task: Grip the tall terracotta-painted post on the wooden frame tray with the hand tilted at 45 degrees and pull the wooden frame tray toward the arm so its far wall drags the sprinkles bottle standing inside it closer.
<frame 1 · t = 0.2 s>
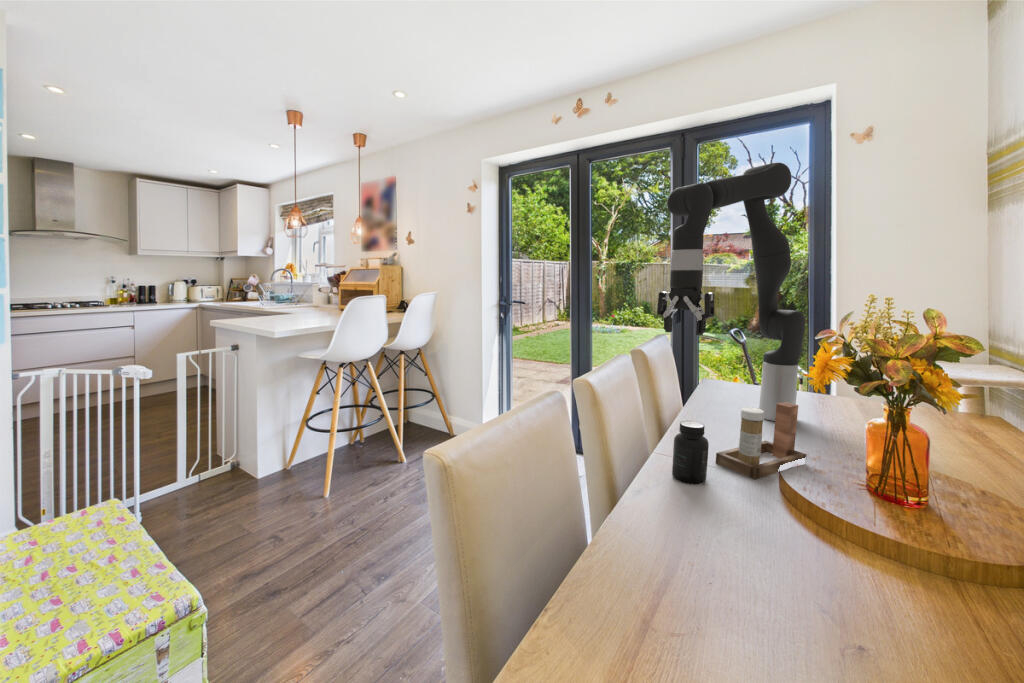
hand: (683, 333, 113), 29 cm above the table, tool pointing down, fingers open, 8 cm apart
sprinkles bottle: (748, 467, 101), resting in wooden frame tray
wooden frame tray: (763, 436, 103), point 6 cm above the table, slide at 0.0 cm
supplement bottle: (688, 479, 95), on the table
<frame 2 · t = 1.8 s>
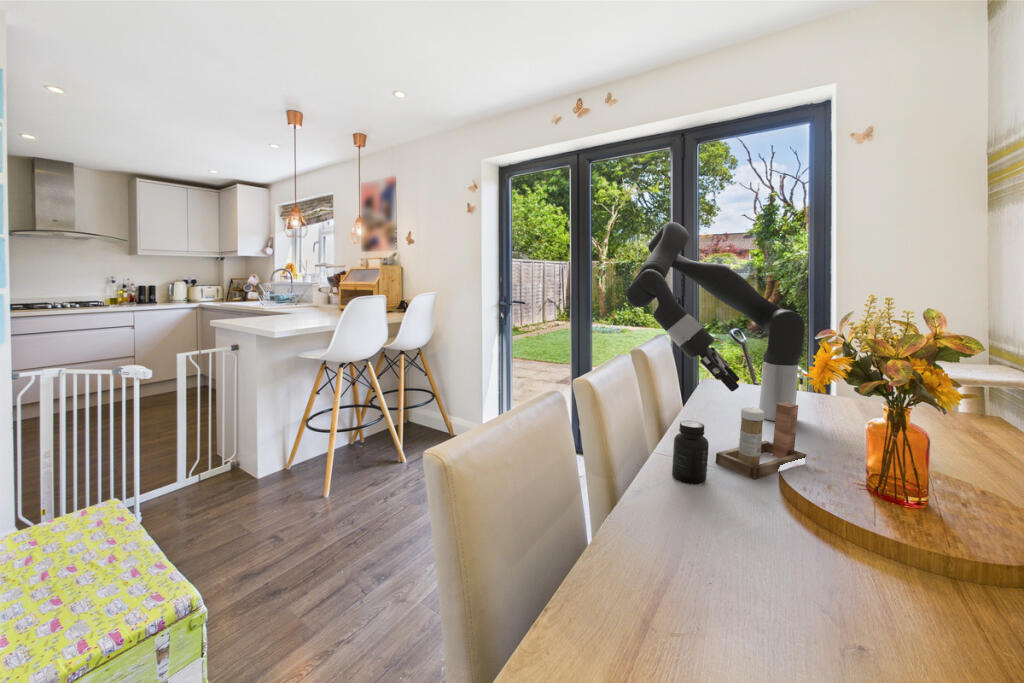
hand: (736, 385, 110), 16 cm above the table, tool tilted 45°, fingers open, 8 cm apart
nothing on the table moved.
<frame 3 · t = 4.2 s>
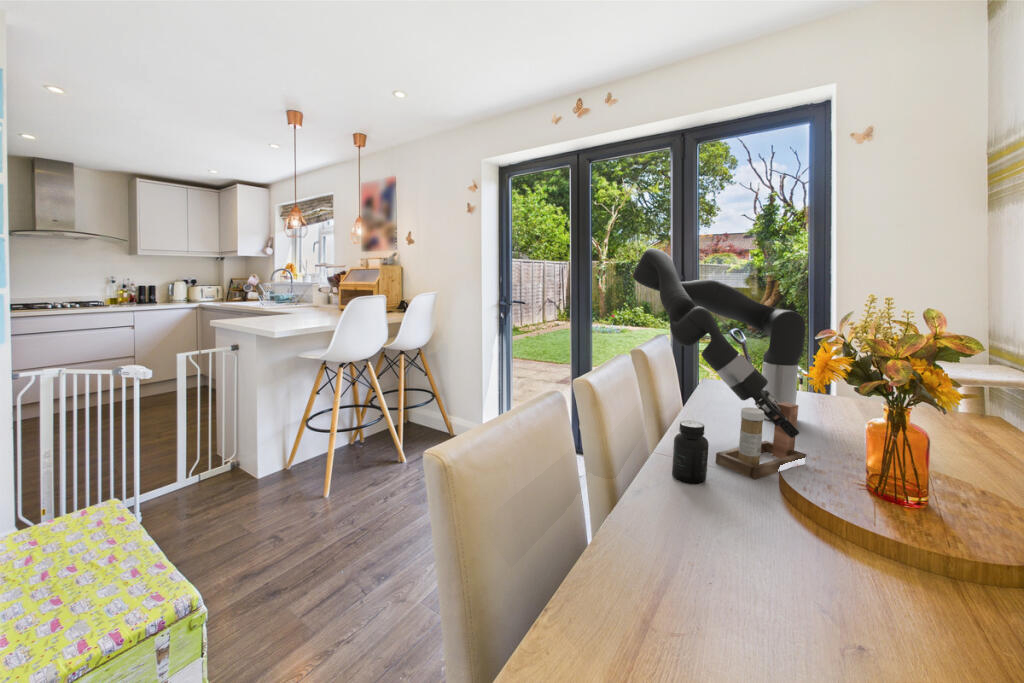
hand: (794, 431, 105), 7 cm above the table, tool tilted 45°, fingers closed on wooden frame tray, 4 cm apart
wooden frame tray: (764, 436, 103), point 6 cm above the table, slide at 0.0 cm, touching gripper
everything else where it was.
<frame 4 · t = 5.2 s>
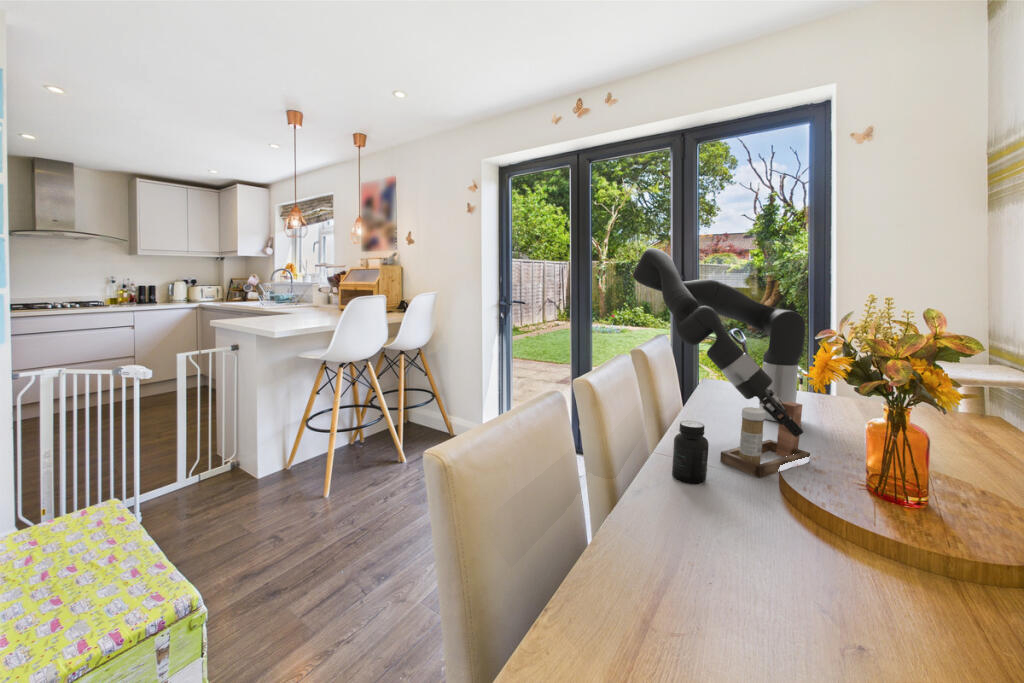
hand: (798, 431, 106), 7 cm above the table, tool tilted 45°, fingers closed on wooden frame tray, 4 cm apart
sprinkles bottle: (748, 467, 101), resting in wooden frame tray
wooden frame tray: (768, 435, 103), point 6 cm above the table, slide at 1.6 cm, touching gripper, sprinkles bottle
everything else where it was.
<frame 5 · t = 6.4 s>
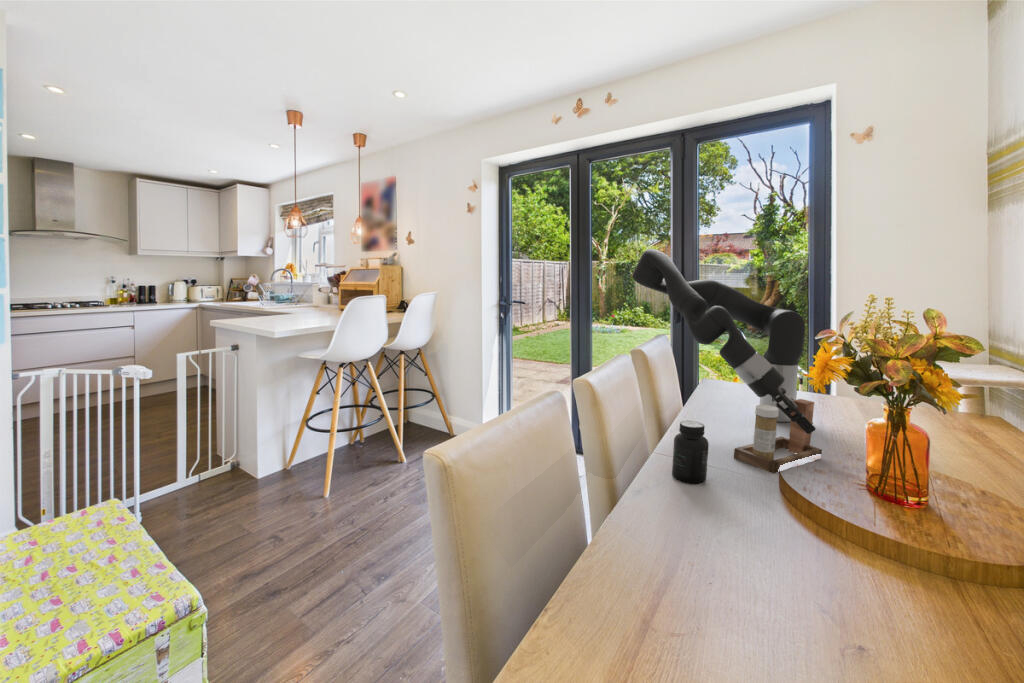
hand: (810, 428, 108), 7 cm above the table, tool tilted 45°, fingers closed on wooden frame tray, 4 cm apart
sprinkles bottle: (762, 463, 104), resting in wooden frame tray
wooden frame tray: (781, 431, 105), point 6 cm above the table, slide at 6.4 cm, touching gripper, sprinkles bottle
everything else where it was.
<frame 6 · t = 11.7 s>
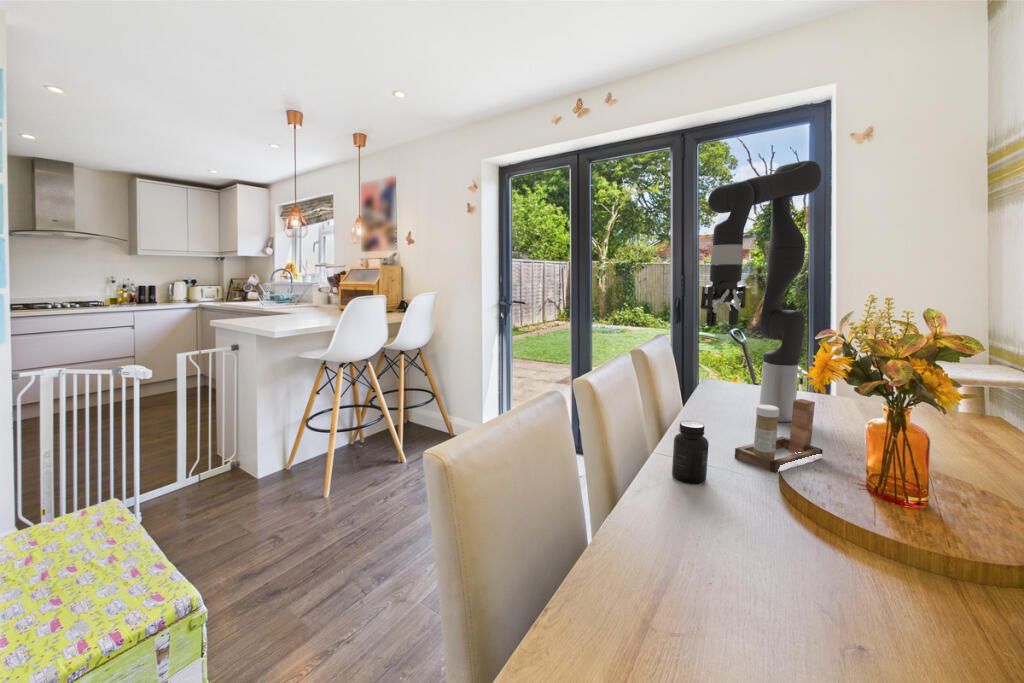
hand: (722, 325, 118), 30 cm above the table, tool pointing down, fingers open, 8 cm apart
sprinkles bottle: (763, 463, 104), resting in wooden frame tray
wooden frame tray: (781, 431, 106), point 6 cm above the table, slide at 6.6 cm
everything else where it was.
at the end: wooden frame tray slide at 6.6 cm; sprinkles bottle inside the target area (2.0 cm from its centre), resting in wooden frame tray; sprinkles bottle tilted 0° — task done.
